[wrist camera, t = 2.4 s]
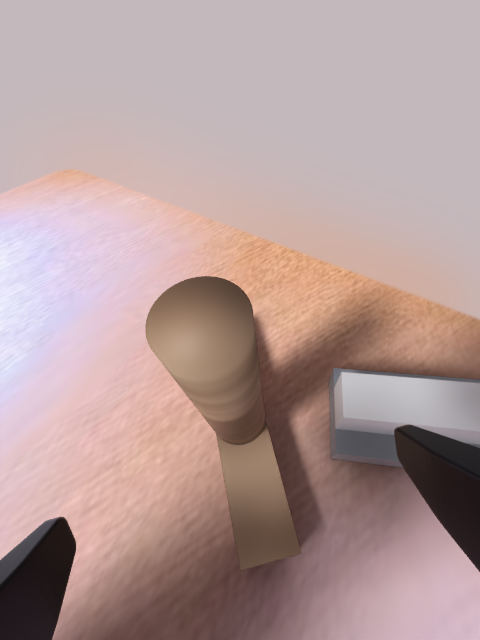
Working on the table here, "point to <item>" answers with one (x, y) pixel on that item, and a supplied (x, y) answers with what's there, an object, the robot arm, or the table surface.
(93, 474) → the table surface
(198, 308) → the t bar
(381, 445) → the ridge block
